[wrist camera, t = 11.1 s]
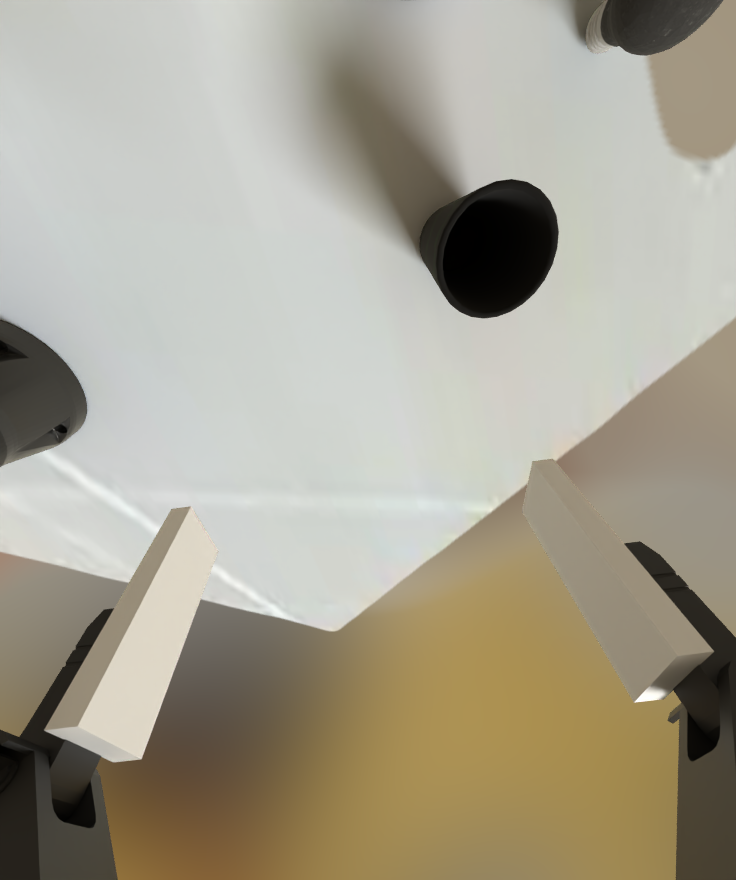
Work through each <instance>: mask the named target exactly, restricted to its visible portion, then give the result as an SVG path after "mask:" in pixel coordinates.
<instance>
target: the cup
mask: <svg viewBox="0 0 736 880" xmlns="http://www.w3.org/2000/svg"><path fill="white" fill-rule="evenodd" d="M558 232H559V231H558V224H557V217H556V214H555V211H554V209H553V207H552V204H551V202H550V200H549V199H548V198H547V197H546V196H545V194H544V193H543V192H542V191H541V190H540V189H538V188H537V187H535V186H533V185H532V184H530V183H528V182H524V181H519V180H513V179H510V180H503V181H496V182H493V183H491V184H489V185H486V186H484V187H482V188H479V189H477V190H475V191H474V192H472V193H470V194H468V195H466V196H464V197H462V198H460V199H458V200H456V201H454V202H452V203H450V204H448V205H446V206H444V207H442V208H441V209H439V210H438V211H436V212H435V213H434V214H432V216H431V217H430V218H429V219H428V220H427V222H426V224H425V226H424V228H423V230H422V233H421V237H420V252H421V256H422V258H423V261H424V263H425V264H426V266H427V268H428V269H429V271H430V273H431V274H432V276H433V278H434V279H435V281H436V283H437V285H438V286H439V288H440V290H441V291H442V293H443V294H444V296H445V297H446V299H447V300H448V302H449V303H450V304H451V305H452V306H453V307H454V308H456V309H457V310H458V311H459V312H461V313H464V314H466V315H468V316H471V317H477V318H491V317H497V316H500V315H503V314H506V313H508V312H511V311H512V310H514V309H516V308H517V307H519V306H520V305H522V304H523V303H524V302H526V301H527V300H528V299H529V298H530V297H531V296H532V295H533V294H534V293H535V292H536V291H537V289H538V288H539V287H540V285H541V284H542V283H543V281H544V280H545V278H546V276H547V274H548V272H549V270H550V268H551V266H552V264H553V261H554V257H555V254H556V250H557V244H558Z"/></svg>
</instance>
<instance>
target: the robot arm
mask: <svg viewBox="0 0 736 880" xmlns="http://www.w3.org/2000/svg"><path fill="white" fill-rule="evenodd" d="M86 414H87V403H86V398H85V394H84V391H83V389H82V387H81V385H80V383H79V381H78V379H77V378H76V376H75V375H74V373H73V372H72V371H71V369H70V368H69V367H68V366H67V365H66V363H65V362H64V361H63V360H62V359H61V358H60V357H59V356H58V355H57V354H56V353H54V352H53V351H52V350H51V349H50V348H49V347H47V346H46V345H45V344H43V343H42V342H41V341H39V340H38V339H36V338H35V337H33V336H32V335H30V334H28V333H27V332H25V331H23V330H21V329H19V328H17V327H15V326H13V325H11V324H8V323H6V322H3V321H1V320H0V467H1V466H3V465H5V464H8V463H11V462H14V461H16V460H19V459H22V458H25V457H28V456H31V455H34V454H36V453H39V452H42V451H45V450H48V449H51V448H53V447H56V446H58V445H60V444H61V443H63V442H64V441H66V440H67V439H68V438H69V437H71V436H72V435H73V434H74V433H76V432H77V431H78V430H79V429H80V428H81V426H82V425H83V423H84V421H85V418H86ZM522 513H523V514H524V516H525V518H526V519H527V521H528V523H529V525H530V526H531V528H532V530H533V531H534V533H535V535H536V536H537V538H538V540H539V542H540V543H541V545H542V547H543V548H544V550H545V552H546V554H547V555H548V557H549V558H550V560H551V562H552V564H553V565H554V567H555V569H556V571H557V572H558V574H559V576H560V577H561V579H562V581H563V582H564V584H565V586H566V588H567V589H568V591H569V593H570V594H571V596H572V598H573V599H574V601H575V603H576V605H577V606H578V608H579V610H580V611H581V613H582V614H583V616H584V618H585V620H586V621H587V623H588V625H589V627H590V628H591V630H592V632H593V633H594V635H595V637H596V638H597V640H598V642H599V644H600V645H601V647H602V649H603V651H604V652H605V654H606V656H607V657H608V659H609V661H610V662H611V664H612V666H613V668H614V669H615V671H616V673H617V674H618V676H619V678H620V679H621V681H622V683H623V685H624V686H625V688H626V690H627V691H628V693H629V695H630V696H631V698H632V700H633V702H643V701H651V700H660V699H664V698H665V697H666V696H667V695H669V694H670V693H671V692H672V691H673V690H674V692H675V693H676V695H677V696H678V698H679V699H680V701H681V702H682V703H681V704H680V705H679V706H677V707H676V708H675V709H674V710H673V711H672V712H670V715H669V718H668V721H669V722H671V723H674V722H676V721H677V720H678V719H679V761H678V763H679V764H678V807H677V851H676V855H677V856H676V880H736V638H735V637H734V635H733V634H732V633H731V632H730V631H729V630H728V629H727V628H726V627H725V625H723V623H722V622H721V621H720V620H719V619H718V618H717V617H716V616H715V615H714V613H713V612H712V611H711V610H710V609H709V608H708V607H707V606H706V605H705V604H704V603H703V601H702V600H701V599H700V598H699V597H698V596H697V595H696V594H695V593H694V592H693V591H692V590H690V589H689V588H688V585H687V584H686V583H685V582H684V581H683V580H682V579H681V577H680V576H679V575H678V576H677V575H676V572H675V571H674V570H673V569H672V567H671V566H670V565H669V564H668V563H667V562H666V561H665V560H664V559H663V558H662V557H661V556H660V555H659V554H658V553H656V552H655V551H653V550H652V549H650V548H649V547H647V546H646V545H645V544H643V543H642V542H632V543H623V542H622V541H621V540H620V538H619V537H618V536H617V535H616V534H615V532H614V531H613V530H612V529H611V528H610V526H609V525H608V524H607V523H606V522H605V521H604V519H603V518H602V517H601V516H600V515H599V513H598V512H597V511H596V510H595V509H594V507H593V506H592V505H591V504H590V503H589V501H588V500H587V499H586V498H585V497H584V495H583V494H582V493H581V492H580V491H579V489H578V488H577V487H576V486H575V485H574V483H573V482H572V481H571V480H570V479H569V478H568V477H567V475H566V474H565V473H564V471H563V470H562V469H561V468H560V467H559V465H558V464H557V463H556V462H555V461H554V460H553V459H547V460H540V461H532V466H531V471H530V476H529V481H528V485H527V490H526V495H525V500H524V505H523V509H522ZM217 553H218V550H217V548H216V546H215V545H214V543H213V541H212V540H211V538H210V537H209V535H208V533H207V532H206V530H205V528H204V527H203V525H202V523H201V522H200V520H199V519H198V517H197V515H196V514H195V512H194V510H193V509H192V507H183V508H176V509H171V511H170V513H169V514H168V516H167V518H166V520H165V521H164V523H163V525H162V527H161V528H160V530H159V532H158V534H157V535H156V537H155V539H154V540H153V542H152V544H151V546H150V547H149V549H148V551H147V553H146V554H145V556H144V558H143V560H142V561H141V563H140V565H139V566H138V568H137V570H136V572H135V573H134V575H133V577H132V579H131V580H130V582H129V584H128V586H127V587H126V589H125V591H124V592H123V594H122V596H121V598H120V599H119V601H118V603H117V605H116V607H115V608H113V609H106V610H103V611H102V612H101V614H100V615H99V616H98V617H97V618H96V619H95V620H94V621H93V622H92V623H91V624H90V625H89V626H88V627H87V629H86V631H85V633H84V634H83V635H82V637H81V639H80V641H79V642H78V644H77V645H76V650H74V651H73V652H72V653H71V655H70V657H69V658H68V660H67V662H66V666H65V667H63V668H62V670H61V671H60V673H59V674H58V676H57V678H56V679H55V681H54V683H53V684H52V686H51V687H50V689H49V691H48V693H47V694H46V696H45V697H44V699H43V701H42V702H41V704H40V705H39V707H38V709H37V710H36V712H35V713H34V715H33V717H32V718H31V720H30V722H29V723H28V725H27V727H26V728H25V730H24V731H23V733H22V734H21V735H20V737H17V736H14V735H12V734H10V733H7V732H4V731H2V730H0V880H118V879H117V873H116V867H115V861H114V855H113V850H112V844H111V839H110V832H109V826H108V820H107V815H106V808H105V802H104V796H103V790H102V784H101V779H100V775H99V774H98V771H97V770H96V766H97V764H98V762H99V760H100V757H103V758H105V759H108V760H110V761H112V762H119V761H129V760H138V759H142V756H143V753H144V750H145V748H146V745H147V742H148V740H149V737H150V734H151V732H152V729H153V726H154V723H155V720H156V718H157V715H158V713H159V710H160V707H161V705H162V702H163V699H164V696H165V694H166V691H167V688H168V686H169V683H170V680H171V677H172V675H173V672H174V669H175V667H176V664H177V661H178V659H179V656H180V653H181V650H182V648H183V645H184V642H185V640H186V637H187V634H188V631H189V629H190V626H191V623H192V621H193V618H194V615H195V612H196V610H197V607H198V604H199V602H200V599H201V596H202V594H203V591H204V588H205V585H206V583H207V580H208V577H209V575H210V572H211V569H212V567H213V564H214V561H215V558H216V556H217Z"/></svg>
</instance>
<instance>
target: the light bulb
mask: <svg viewBox="0 0 736 880" xmlns="http://www.w3.org/2000/svg"><path fill="white" fill-rule="evenodd" d="M722 1H723V0H605V1H604V2H603V3H602V4H601V5H600V6H599V7H598V8H597V9H596V11H595V12H594V13H593V15H592V16H591V18H590V20H589V23H588V25H587V30H586V38H585V39H586V45H587V47H588V49H589V50H590V51H591V52H592V53H595V54H599V53H603V52H606V51H608V50H609V49H611V48H612V47H614V46H615V47H617V46H620V47H621V48H622V49H624V50H625V51H627V52H629V53H631V54H636V55H651V54H655V53H659V52H662V51H665V50H667V49H670V48H672V47H673V46H675V45H677V44H678V43H680V42H681V41H683V40H685V39H686V38H687V37H688V36H690V35H691V34H692V33H693V32H695V31H696V30H697V29H698V28H699V27H700V26H701V25H702V24H703V23H704V22H705V21H706V20H707V19H708V18H709V17H710V16H711V15H712V14H713V12H714V11H715V10H716V9H717V8H718V7H719V5H720V4H721V3H722Z"/></svg>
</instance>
